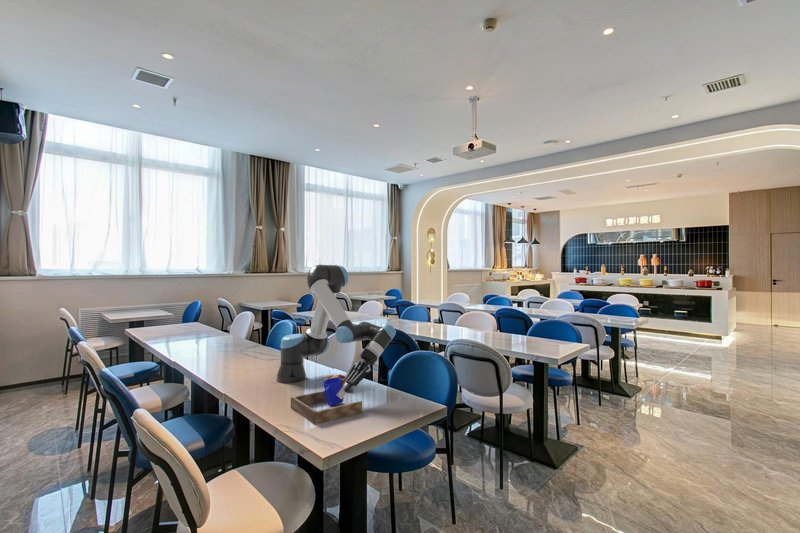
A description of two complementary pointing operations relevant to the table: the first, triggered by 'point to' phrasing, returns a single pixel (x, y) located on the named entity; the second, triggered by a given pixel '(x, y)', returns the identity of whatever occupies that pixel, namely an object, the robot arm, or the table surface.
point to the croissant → (337, 376)
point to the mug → (333, 390)
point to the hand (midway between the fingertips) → (338, 397)
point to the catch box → (325, 415)
